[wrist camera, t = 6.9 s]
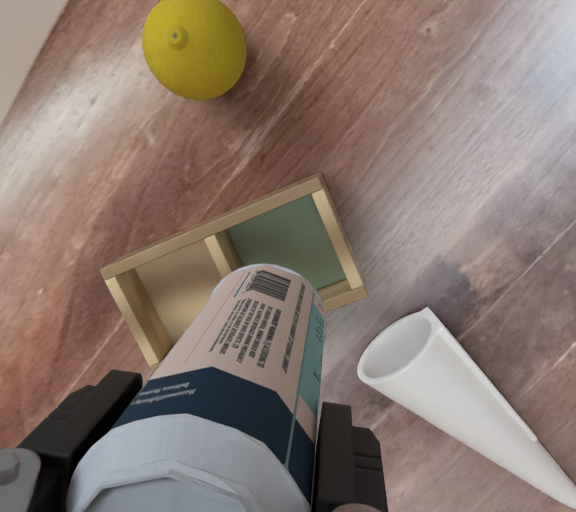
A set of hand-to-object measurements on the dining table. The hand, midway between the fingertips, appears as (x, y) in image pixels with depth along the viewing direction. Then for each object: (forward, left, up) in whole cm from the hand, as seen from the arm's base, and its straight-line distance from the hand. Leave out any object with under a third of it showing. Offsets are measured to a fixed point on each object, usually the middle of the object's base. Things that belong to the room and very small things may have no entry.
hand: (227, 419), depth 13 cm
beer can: (0, 0, -8) cm, 8 cm away
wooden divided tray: (0, -4, -22) cm, 23 cm away
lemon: (-13, 0, -22) cm, 26 cm away
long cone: (+17, +7, -22) cm, 29 cm away
